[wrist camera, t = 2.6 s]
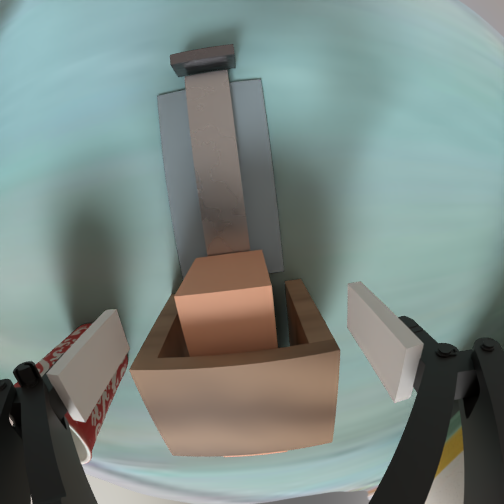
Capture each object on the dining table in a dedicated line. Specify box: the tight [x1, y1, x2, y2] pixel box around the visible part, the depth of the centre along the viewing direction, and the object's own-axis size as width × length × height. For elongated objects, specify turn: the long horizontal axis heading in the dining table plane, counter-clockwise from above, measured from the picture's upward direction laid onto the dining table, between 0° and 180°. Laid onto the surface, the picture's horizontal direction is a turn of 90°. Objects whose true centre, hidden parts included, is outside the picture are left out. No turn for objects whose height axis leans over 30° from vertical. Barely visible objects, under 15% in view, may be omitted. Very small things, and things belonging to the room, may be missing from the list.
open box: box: [129, 279, 340, 456], centre depth 21 cm, size 9×12×12 cm
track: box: [170, 44, 250, 256], centre depth 22 cm, size 31×5×3 cm, turn 7°
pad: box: [157, 79, 284, 280], centre depth 23 cm, size 17×9×1 cm, turn 7°
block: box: [174, 250, 287, 457], centre depth 21 cm, size 16×6×8 cm, turn 7°
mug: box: [14, 324, 128, 464], centre depth 21 cm, size 13×9×14 cm
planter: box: [425, 399, 464, 504], centre depth 20 cm, size 27×27×27 cm
